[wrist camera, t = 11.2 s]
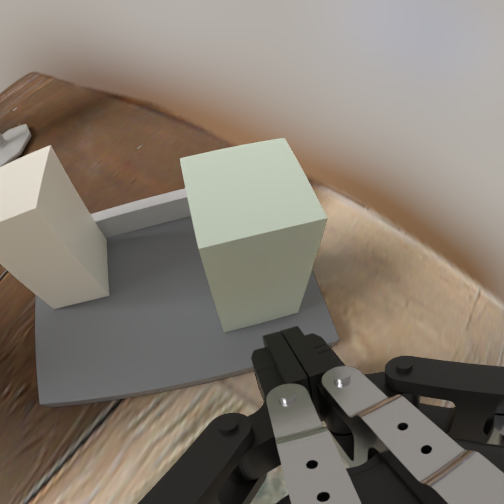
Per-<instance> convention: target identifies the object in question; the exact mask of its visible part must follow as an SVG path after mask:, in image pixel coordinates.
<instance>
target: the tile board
mask: <svg viewBox="0 0 504 504" xmlns="http://www.w3.org/2000/svg"><path fill="white" fill-rule="evenodd" d="M91 216H92V218H93V219H94V221H95V222H96V224H97V226H98V227H99V229H100V230H101V232H102V233H103V235H104V236H105V238H106V239H107V262H108V281H109V295H110V296H107V297H102V298H98V299H94V300H90V301H86V302H82V303H77V304H73V305H69V306H65V307H61V308H56V309H53V308H52V307H51V306H49V305H48V304H47V303H46V302H44V301H43V300H42V299H41V298H39V297H38V296H37V295H36V300H35V349H36V369H37V382H38V393H39V402H40V404H41V405H45V406H49V407H60V406H71V405H80V404H89V403H97V402H104V401H111V400H118V399H125V398H131V397H137V396H143V395H149V394H154V393H160V392H165V391H170V390H175V389H180V388H185V387H190V386H194V385H199V384H203V383H208V382H212V381H216V380H220V379H224V378H228V377H232V376H236V375H240V374H244V373H248V372H252V371H254V368H253V364H252V360H251V357H252V354H253V351H254V350H257V349H260V348H264V343H263V337H262V336H263V335H267V334H270V333H274V332H278V331H281V330H284V329H288V328H291V327H295V326H298V327H299V328H300V330H301V331H302V332H303V334H304V335H308V334H311V333H314V334H316V335H318V336H320V337H322V338H323V339H324V340H325V342H326V343H327V345H329V346H330V347H333V346H335V344H336V343H337V342H338V341H339V340H340V339H339V337H338V334H337V331H336V329H335V326H334V324H333V321H332V319H331V316H330V313H329V311H328V308H327V306H326V303H325V301H324V298H323V296H322V293H321V291H320V288H319V286H318V283H317V281H316V278H315V276H314V274H313V271H311V274H310V277H309V281H308V284H307V287H306V290H305V293H304V296H303V299H302V302H301V305H300V308H299V311H298V313H295V314H291V315H288V316H284V317H281V318H277V319H274V320H270V321H266V322H263V323H259V324H255V325H252V326H248V327H244V328H240V329H237V330H233V331H229V332H225V333H224V332H223V329H222V326H221V322H220V319H219V316H218V313H217V310H216V306H215V303H214V300H213V297H212V293H211V290H210V287H209V283H208V280H207V277H206V273H205V270H204V267H203V263H202V260H201V256H200V253H199V249H198V245H197V240H196V236H195V231H194V227H193V222H192V217H191V213H190V208H189V203H188V198H187V193H186V188H185V189H181V190H177V191H173V192H169V193H165V194H161V195H157V196H154V197H150V198H146V199H142V200H139V201H135V202H131V203H128V204H124V205H121V206H117V207H114V208H110V209H107V210H103V211H100V212H97V213H93V214H91Z"/></svg>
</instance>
